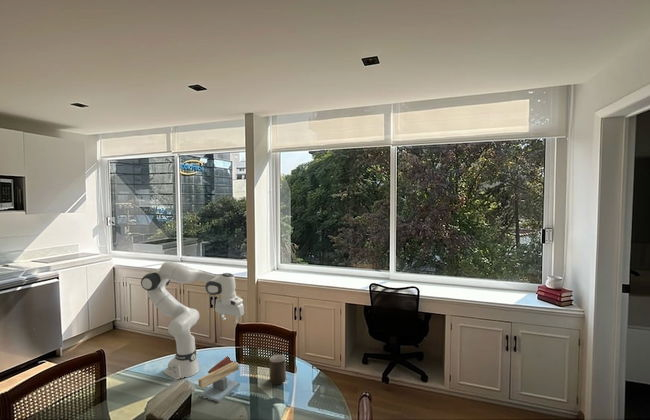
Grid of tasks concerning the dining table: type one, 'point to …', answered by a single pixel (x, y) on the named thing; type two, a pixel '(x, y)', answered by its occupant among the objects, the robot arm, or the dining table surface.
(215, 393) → the ridge stand
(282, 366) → the pillar candle
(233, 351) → the dining table surface
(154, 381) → the dining table surface
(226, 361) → the wooden tablet
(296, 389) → the dining table surface
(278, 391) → the dining table surface
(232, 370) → the oak rod
